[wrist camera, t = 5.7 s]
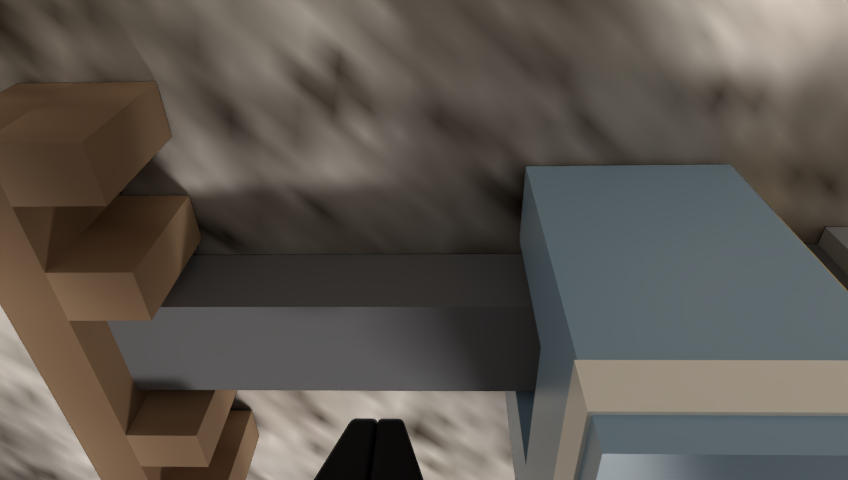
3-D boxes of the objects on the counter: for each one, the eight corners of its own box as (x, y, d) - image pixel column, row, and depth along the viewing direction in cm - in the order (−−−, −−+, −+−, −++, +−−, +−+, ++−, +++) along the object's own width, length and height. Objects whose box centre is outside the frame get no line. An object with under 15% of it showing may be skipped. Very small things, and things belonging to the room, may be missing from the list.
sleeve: (503, 399, 14) (538, 702, 9) (523, 163, 10) (598, 450, 5) (659, 400, 14) (780, 707, 9) (734, 161, 10) (1006, 453, 5)
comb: (168, 435, 15) (127, 524, 13) (16, 83, 10) (-92, 143, 8) (258, 435, 15) (231, 525, 13) (155, 81, 10) (82, 142, 8)
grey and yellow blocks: (174, 362, 13) (102, 503, 11) (119, 218, 11) (8, 346, 8) (886, 364, 13) (1015, 512, 10) (979, 212, 11) (1180, 348, 8)
